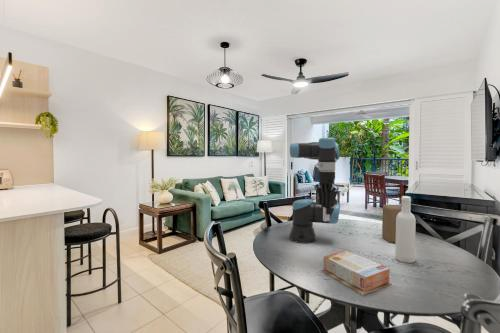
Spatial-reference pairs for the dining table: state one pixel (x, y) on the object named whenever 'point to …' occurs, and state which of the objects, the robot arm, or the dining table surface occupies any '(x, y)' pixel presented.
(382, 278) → the cracker box
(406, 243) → the bottle
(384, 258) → the dining table surface
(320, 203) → the robot arm
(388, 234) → the wooden block
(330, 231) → the dining table surface
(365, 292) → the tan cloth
